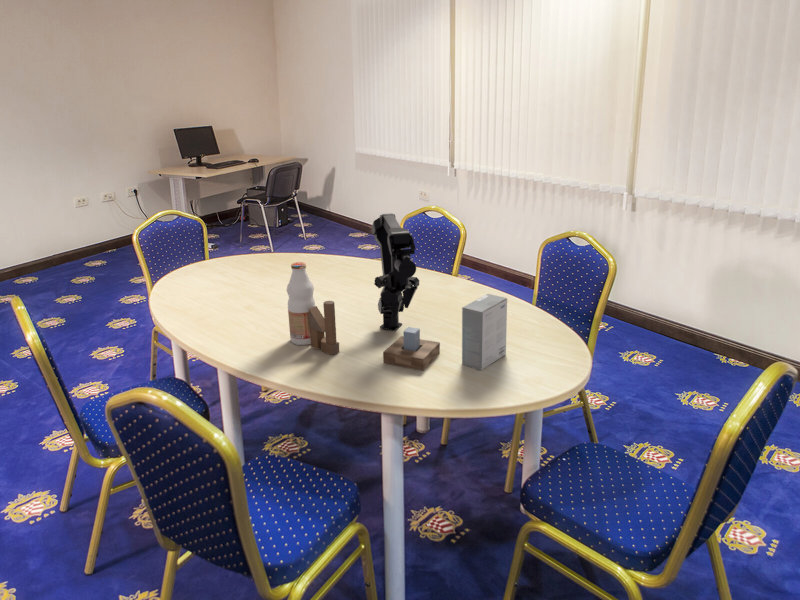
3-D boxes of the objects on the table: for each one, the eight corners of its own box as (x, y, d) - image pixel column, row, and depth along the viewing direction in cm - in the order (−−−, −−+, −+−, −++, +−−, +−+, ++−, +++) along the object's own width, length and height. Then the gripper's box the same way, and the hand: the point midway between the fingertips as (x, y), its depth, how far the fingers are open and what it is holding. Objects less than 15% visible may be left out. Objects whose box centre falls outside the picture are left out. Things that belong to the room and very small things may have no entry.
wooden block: (318, 343, 219) (315, 295, 213) (339, 352, 212) (337, 302, 206) (310, 347, 216) (307, 297, 210) (331, 355, 209) (328, 305, 203)
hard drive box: (486, 348, 213) (488, 293, 206) (506, 354, 208) (508, 297, 201) (460, 364, 201) (461, 306, 195) (481, 371, 197) (482, 311, 190)
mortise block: (401, 346, 215) (401, 335, 214) (439, 353, 210) (439, 342, 208) (383, 363, 203) (383, 351, 202) (423, 370, 198) (423, 359, 196)
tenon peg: (408, 352, 209) (408, 326, 206) (419, 354, 207) (419, 328, 204) (403, 356, 205) (403, 331, 202) (415, 358, 204) (414, 333, 201)
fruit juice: (291, 347, 217) (285, 269, 207) (289, 336, 225) (283, 261, 216) (319, 343, 219) (314, 266, 209) (315, 333, 227) (310, 259, 218)
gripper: (390, 258, 219) (391, 300, 224) (365, 273, 203) (366, 318, 208) (419, 261, 214) (419, 304, 220) (396, 278, 198) (397, 323, 204)
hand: (400, 312), depth 213 cm, fingers open, 9 cm apart
